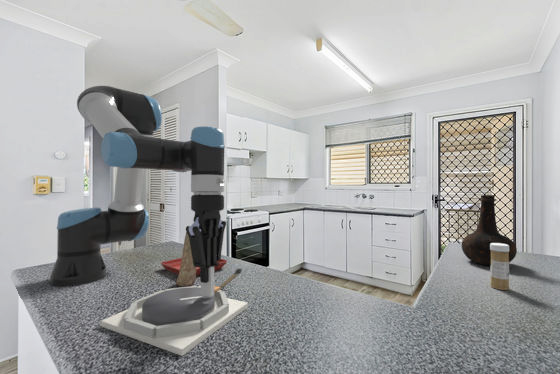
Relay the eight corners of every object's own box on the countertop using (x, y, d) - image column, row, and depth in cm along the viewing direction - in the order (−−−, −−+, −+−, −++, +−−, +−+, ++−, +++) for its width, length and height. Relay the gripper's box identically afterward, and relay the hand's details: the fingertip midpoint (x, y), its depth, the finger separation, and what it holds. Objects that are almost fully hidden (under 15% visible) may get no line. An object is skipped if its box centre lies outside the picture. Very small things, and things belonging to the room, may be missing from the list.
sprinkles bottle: (496, 284, 85) (496, 242, 85) (513, 289, 80) (512, 244, 80) (486, 286, 83) (486, 243, 83) (503, 291, 79) (503, 245, 79)
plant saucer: (159, 270, 100) (159, 261, 100) (201, 261, 113) (201, 253, 113) (184, 281, 88) (184, 271, 88) (228, 269, 102) (228, 260, 102)
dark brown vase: (470, 267, 103) (470, 195, 103) (455, 256, 120) (455, 194, 120) (527, 272, 98) (527, 195, 98) (502, 259, 115) (502, 194, 115)
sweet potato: (178, 290, 81) (198, 287, 84) (182, 233, 79) (203, 232, 82) (173, 281, 86) (193, 278, 90) (177, 227, 84) (197, 226, 88)
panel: (100, 326, 58) (101, 309, 59) (179, 291, 79) (179, 279, 79) (182, 356, 48) (182, 335, 48) (248, 306, 68) (248, 292, 68)
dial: (136, 333, 53) (136, 291, 53) (147, 301, 68) (147, 268, 68) (218, 320, 58) (218, 281, 58) (211, 293, 73) (211, 262, 74)
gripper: (204, 194, 55) (204, 308, 55) (235, 193, 68) (235, 287, 67) (175, 194, 58) (175, 303, 58) (210, 193, 70) (210, 284, 70)
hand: (207, 294), depth 62 cm, fingers closed
